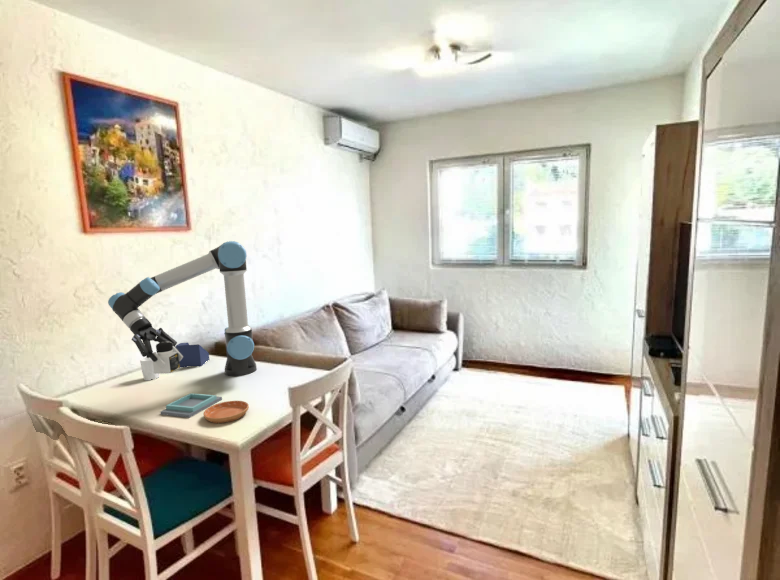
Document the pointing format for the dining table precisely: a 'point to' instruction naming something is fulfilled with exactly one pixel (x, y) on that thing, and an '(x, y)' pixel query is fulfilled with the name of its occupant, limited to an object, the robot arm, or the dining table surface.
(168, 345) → the medicine bottle
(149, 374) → the white cup
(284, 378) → the dining table surface
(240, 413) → the saucer
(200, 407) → the dock
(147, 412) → the dining table surface
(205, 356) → the blue wedge block
